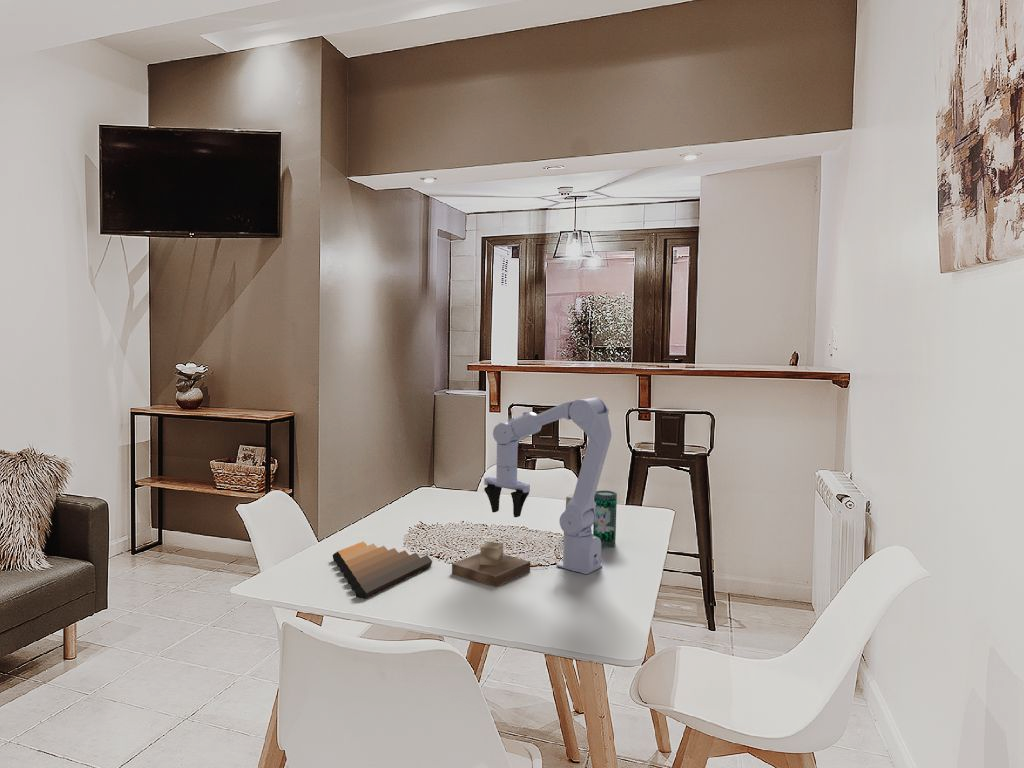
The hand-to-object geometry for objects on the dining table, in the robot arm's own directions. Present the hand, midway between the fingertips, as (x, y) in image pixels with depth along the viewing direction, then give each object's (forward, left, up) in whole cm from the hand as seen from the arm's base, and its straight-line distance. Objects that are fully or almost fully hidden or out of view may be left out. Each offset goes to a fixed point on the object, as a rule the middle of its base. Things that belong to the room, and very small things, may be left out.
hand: (506, 514), depth 184 cm
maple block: (-8, +15, -8) cm, 19 cm away
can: (-18, -24, -11) cm, 31 cm away
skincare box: (-8, -25, -11) cm, 28 cm away
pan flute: (+17, +36, -11) cm, 42 cm away
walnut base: (-8, +15, -10) cm, 20 cm away
